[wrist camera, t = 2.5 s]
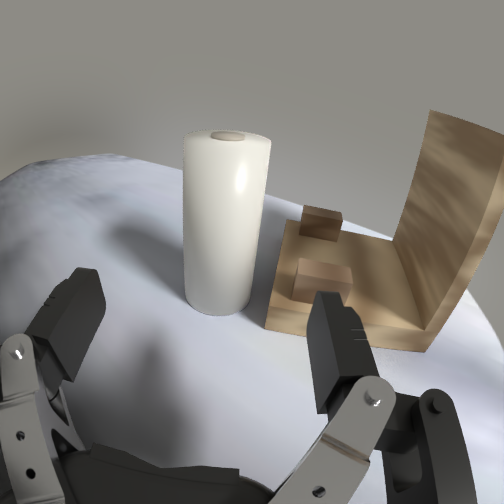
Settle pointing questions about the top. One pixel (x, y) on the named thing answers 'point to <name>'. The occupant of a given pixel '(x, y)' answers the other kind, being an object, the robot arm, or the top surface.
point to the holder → (401, 245)
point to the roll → (222, 217)
